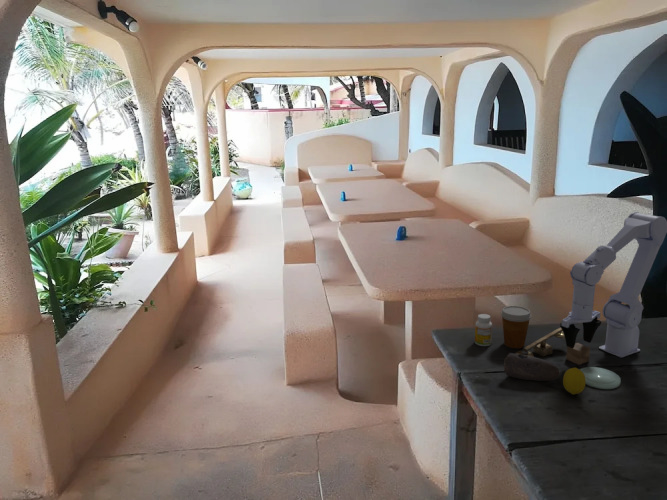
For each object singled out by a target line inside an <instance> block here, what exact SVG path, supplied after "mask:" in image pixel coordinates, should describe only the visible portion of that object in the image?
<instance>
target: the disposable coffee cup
mask: <svg viewBox="0 0 667 500" xmlns="http://www.w3.org/2000/svg"><path fill="white" fill-rule="evenodd" d="M500 315H501V317H502V318H501V319H502V321H501V322H502V331H503V342H504V343H503V344H504V345H505V346H506V347H508V348H511V349H522V348H525V344H526V338H527V334H528V329H529V325H530V319H531V318H532V313H531V310H530V309H529V308H528V307H524V306H520V305H519V306H518V305H508V306H504V307H503V308H502V310H500Z"/></svg>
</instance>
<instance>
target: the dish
mask: <svg viewBox="0 0 667 500" xmlns="http://www.w3.org/2000/svg"><path fill="white" fill-rule="evenodd" d="M579 370H581V371H582V372H583V373H584V375H585V380H586V384H585V386H589V387H592V388H595V389H600V390H613V389H616V388H619V387H620V385H621V382H622V381H621V379H622V378H621V377H620V375H618V374H617V373H616V372H614V371H612V370H609V369H606V368H603V367H596V366H588V367H581V368H579Z"/></svg>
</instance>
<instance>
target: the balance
mask: <svg viewBox="0 0 667 500" xmlns="http://www.w3.org/2000/svg"><path fill="white" fill-rule="evenodd" d="M553 337H555V338H557V339H565V336H564V333H563V331H562V329H561V327H558V328H557V329H555V330H553V331H552V332H549V333H547V334H546V335H544V336H542V337H540V338H539V339H537V340H535V341H534V342H532V343H529V344H528V345H526V346H524V347H523V349H522V350H518V351H516V352H515V354H522V355H526V356H531V357H534V353H535V354H537V355H539V354H540V355H539V356H541V357H546V356H548V355H549V356H550V355H551V354H553V348H554V347H553V345H550V344H548V343H547V341H548V340H549V339H551V338H553ZM530 350H532V352H531V351H530Z"/></svg>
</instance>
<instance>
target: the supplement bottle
mask: <svg viewBox="0 0 667 500" xmlns="http://www.w3.org/2000/svg"><path fill="white" fill-rule="evenodd" d="M474 328H475V329H474V343H475V344H476V345H477V346H479V347H490V346H491V345H492V341H493V340H492V339H493V336H492V335H493V323H492V321H491V315H489V314H487V313H480V314H478V315H477V321H476V322H475V325H474Z"/></svg>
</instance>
